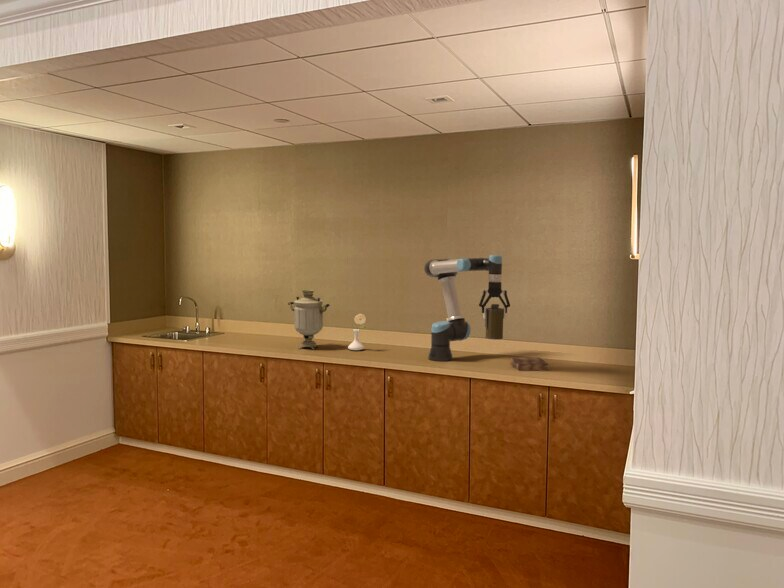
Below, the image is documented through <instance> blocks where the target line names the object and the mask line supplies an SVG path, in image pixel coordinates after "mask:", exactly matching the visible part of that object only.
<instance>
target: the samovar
mask: <svg viewBox="0 0 784 588" xmlns="http://www.w3.org/2000/svg"><path fill="white" fill-rule="evenodd" d="M301 292H302V295H303V297H301V298H300V296H296V300H293V301H290V302H288V303H287V305H288V306H290V310H291V311H292V312H294V316H293V317H294V329H295V331H296V332H297V333H299V334H300V335H302V337H303V339H304V340H303V341H302V342H301V343H300V346H299V347H298V349H299V350H301V349H302V348H311V350H316V349H315V347H319V345H318V344H317V342H315V341H314V340H313V339H314V338H315V337H314V336H315V335H317V334H318V333H320V332H321V331H322V330H323V327H324V323H323V322H324V321H323V319H324V317H323V316H324V314H323V313H326V311H327V309H328V307H330V303H327V304H324V303H323V302H324V300H322V299H321V298H320V297H317V298H316V297H314V292H315V289H302V290H301ZM323 304H324V305H323Z"/></svg>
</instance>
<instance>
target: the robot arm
mask: <svg viewBox="0 0 784 588" xmlns="http://www.w3.org/2000/svg"><path fill="white" fill-rule="evenodd" d="M488 256H489V257H488V258H486V257H476V258H474V257H471V258H470V257H467V258H466V257H465V258H458V259H450V258H444V259H443V258H438V259H429V260H428V261H426V262H425V264H424V272H425V274H426V275H427V276H429V277H431V278H437V280H438V282H439V283H440V284H441V289H442V293H443V298H444V303H445V308H446V313H447V320H442V321H436V322H433V323H432V325H431V330H430V332H431V338H430V339H431V340H430V341H431V345H430V346H431V347H430V350H429V352H428V355H427V357H428V360H430V361H433V362H448V361H452V360H453V353H452V350H451V346H450V345H451V342H458V341H459V342H461V341H464V340H467V339H468V338H469V337H470V334H471V325H470V323H469V322H468V321H466V319H465V317H464V316H462V312H461V307H460V303H459V298H458V292H457V288H456V283H455V280H456V278H457V275H458V274H459V273H461V272H477V271H483V272H484V271H486V272H487V271H488V289H487V290H485V289H483V290H482V295H481V299H480V301H479V303H478V307H480V308H481V314H482V315H483V319H484V320H485V319H486V306H487V304H488V303H489V301H490V300H491V298H498V299H499V301H500V302H501V304H502V305H503V307H502V309H504V310H503V320H505V319H506V314H507V313H508V308H509V307H511V304H510V301H509V298H508V294H507V293H508V291H507V290H505V289H504V290H502V275H503V274H502V272H503V271H502V269H503V257H502V255H500V254H498V255H497V254H490V255H488ZM487 294H488V296H487ZM501 294H502V295H503V297H504V299H505V300H504V299H503V298H502V296H501ZM486 296H487V297H486ZM485 298H486V299H485Z"/></svg>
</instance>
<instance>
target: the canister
mask: <svg viewBox="0 0 784 588" xmlns="http://www.w3.org/2000/svg"><path fill="white" fill-rule="evenodd" d="M499 306H500V304H498V303H493V304H491V306H490V307H487V308H486V307H485V308H486V319H484V328H485V337H484V338H485V339H486V340H487V339H488V340H503V339H504V336H503V335H504V319H503V310H504V309H503V307H501V308H500V307H499Z"/></svg>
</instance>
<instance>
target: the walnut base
mask: <svg viewBox="0 0 784 588" xmlns="http://www.w3.org/2000/svg"><path fill="white" fill-rule="evenodd" d="M510 365H512V366H513V367H514V368H515V370H517V371H518V370H519V371H550V364H549V363H548V362H547V361H546V360H544V359H543V358H541V357H511V358H510Z"/></svg>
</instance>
